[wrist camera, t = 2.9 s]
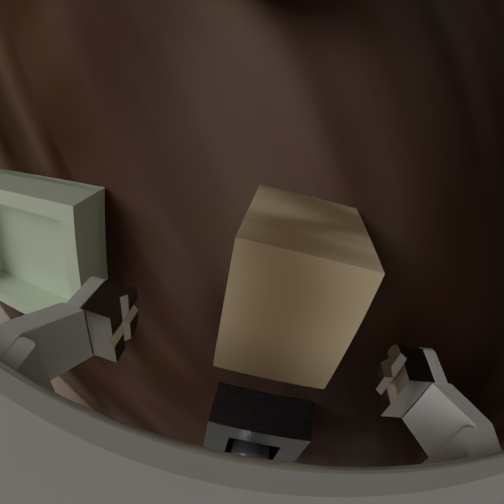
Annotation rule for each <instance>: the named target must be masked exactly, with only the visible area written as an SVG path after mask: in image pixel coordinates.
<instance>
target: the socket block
mask: <svg viewBox="0 0 504 504" xmlns="http://www.w3.org/2000/svg"><path fill="white" fill-rule="evenodd" d="M311 424H312V402H310V401H304V400H298V399H292V398H287V397H281V396H276V395H271V394H266V393H261V392H257V391H252V390H248V389H243V388H239V387H235V386H231V385H227V384H223V383H219V385H218V388H217V392H216V395H215V399H214V402H213V406H212V409H211V412H210V416H209V419H208V424H207V429H206V435H205V441H204V446H203V447H205V448H210V449H214V450H219V451H223V452H228V453H231V450H232V446H233V441H234V439H238V440H243V441H248V442H253V443H258V444H263V445H269V446H270V451H269V458H268V460H275V461H283V462H291V463H293V462H294V461H295V460H296V459H297V458H298V456H299V455H300V454H301V453H302V452H303V450H304V449H305V448H306V447H307V445H308V444H309V443H310V442H311Z"/></svg>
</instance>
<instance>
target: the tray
mask: <svg viewBox="0 0 504 504" xmlns="http://www.w3.org/2000/svg"><path fill="white" fill-rule="evenodd" d="M92 276H98V277H101V278H104V279H106V280H108V270H107V255H106V234H105V187H100V186H95V185H89V184H84V183H79V182H73V181H68V180H62V179H57V178H51V177H45V176H40V175H34V174H28V173H22V172H16V171H10V170H3V169H0V301H2V302H4V303H5V304H7V305H9V306H11V307H13V308H15V309H16V310H18V311H20V312H22V313H24V314H29V313H32V312H35V311H38V310H40V309H43V308H46V307H49V306H52V305H55V304H58V303H61V302H64V303H67V302H68V300H69V299H70V298H71V297H72V296H73V295H74V294H75V293H76V292H77V291H78V290H79V289H80V288H81V287H82V286H83V284H84V283H85V282H86V281H87V280H88V279H89V278H90V277H92Z"/></svg>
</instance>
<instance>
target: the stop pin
mask: <svg viewBox="0 0 504 504" xmlns="http://www.w3.org/2000/svg"><path fill="white" fill-rule="evenodd" d="M269 451H270V446H269V445H263V444H258V443H253V442H248V441H243V440H238V439H234V441H233V446H232V450H231V453H233V454H238V455H244V456H249V457H255V458H261V459H268V458H269Z"/></svg>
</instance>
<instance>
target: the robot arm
mask: <svg viewBox="0 0 504 504" xmlns="http://www.w3.org/2000/svg"><path fill="white" fill-rule="evenodd" d="M136 301H137V290H136V289H135V288H132V287H129V286H126V285H123V284H120V283H117V282H114V281H111V280H106V279H104V278H101V277H98V276H92V277H90V278H89V279H88V280H87V281H86V282H85V283H84V284H83V286H82V287H81V288H80V289H79V290H78V291H77V292H76V293H75V294H74V295H73V296H72V297H71V298H70V299H69V300H68V302H67V303H64V302H61V303H58V304H55V305H52V306H49V307H46V308H43V309H40V310H38V311H35V312H32V313H29V314H26V315H23V316H20V317H17V318H15V319H12V320H9V321H6V322H4V323H1V324H0V504H504V451H501V448H500V445H499V442H498V439H497V436H496V433H495V430H494V427H493V424H492V423H491V422H490V421H489V420H488V419H487V418H486V417H485V416H484V415H483V414H482V413H481V412H480V411H479V410H478V409H477V408H476V407H475V406H474V405H473V404H472V403H471V402H470V401H469V400H468V399H467V398H465V397H464V396H463V395H462V394H461V393H460V392H459V391H458V390H457V389H456V388H455V387H454V386H453V385H452V384H448V383H447V380H446V377H445V375H444V372H443V370H442V367H441V365H440V362H439V360H438V357H437V355H436V353H435V351H434V350H433V349H431V348H421V347H420V348H418V347H410V346H403V345H395V344H394V345H393V346H392V347H391V348H390V349H389V351H388V352H387V355H388V359H386V360H384V361H383V362H381V364H380V365H379V367H378V369H377V371H376V375H375V388H376V390H377V391H378V392H379V393H380V395H381V396H380V397H379V399H378V404H379V410H380V415H381V416H387V417H403V418H402V419H403V421H404V422H405V424H406V425H407V427H408V428H409V429H410V431H411V432H412V434H413V435H414V437H415V438H416V439H417V441H418V442H419V444H420V445H421V447H422V448H423V449H424V451H425V452H426V454H427V455H428V457H429V458H428V459H426V460H425V461H424V462H423V463H421V464H418V465H405V466H382V467H350V466H326V465H312V464H301V463H291V462H283V461H275V460H268V459H261V458H255V457H249V456H244V455H238V454H233V453H228V452H223V451H219V450H214V449H210V448H205V447H201V446H197V445H193V444H190V443H186V442H182V441H179V440H175V439H172V438H168V437H165V436H162V435H158V434H155V433H152V432H149V431H146V430H143V429H140V428H137V427H135V426H132V425H129V424H126V423H124V422H121V421H118V420H116V419H113V418H111V417H108V416H106V415H103V414H101V413H98V412H96V411H94V410H91V409H88V408H87V407H84V406H82V405H80V404H78V403H75V402H74V401H71V400H69V399H67V398H65V397H63V396H61V395H59V394H57V393H55V391H54V389H53V386H52V384H51V382H50V380H52V379H54V378H55V377H57V376H59V375H61V374H62V373H64V372H66V371H67V370H69V369H71V368H73V367H74V366H76V365H78V364H79V363H81V362H83V361H85V360H86V359H88V358H90V357H91V356H93V354H94V355H97V356H100V357H102V358H105V359H108V360H111V361H114V362H117V361H118V359H119V358H120V356H121V354H122V353H123V351H124V349H125V341H126V340H128V339H130V338H131V337H132V336H133V334H134V332H135V329H136V326H137V322H138V310H137V308H136V307H135V305H134V304H135V302H136Z"/></svg>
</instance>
